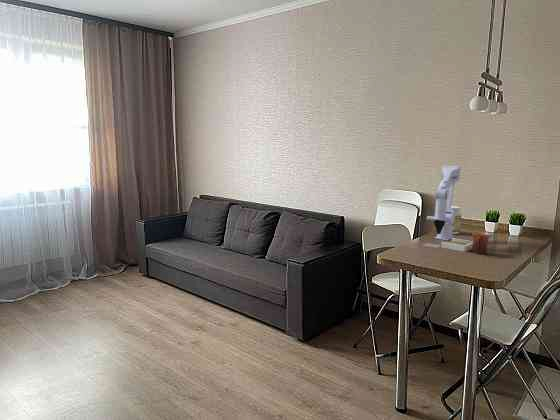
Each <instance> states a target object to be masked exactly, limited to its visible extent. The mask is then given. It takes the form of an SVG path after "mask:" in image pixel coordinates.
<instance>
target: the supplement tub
mask: <svg viewBox="0 0 560 420" xmlns="http://www.w3.org/2000/svg"><path fill="white" fill-rule="evenodd" d="M451 209H452V210H453V211H454V212H455V220H454V223H453V224H451V225H452V227H453V230H452V235H458V234H459V233H460V232H461V223H462V212H461V206H456V205H451Z"/></svg>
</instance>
